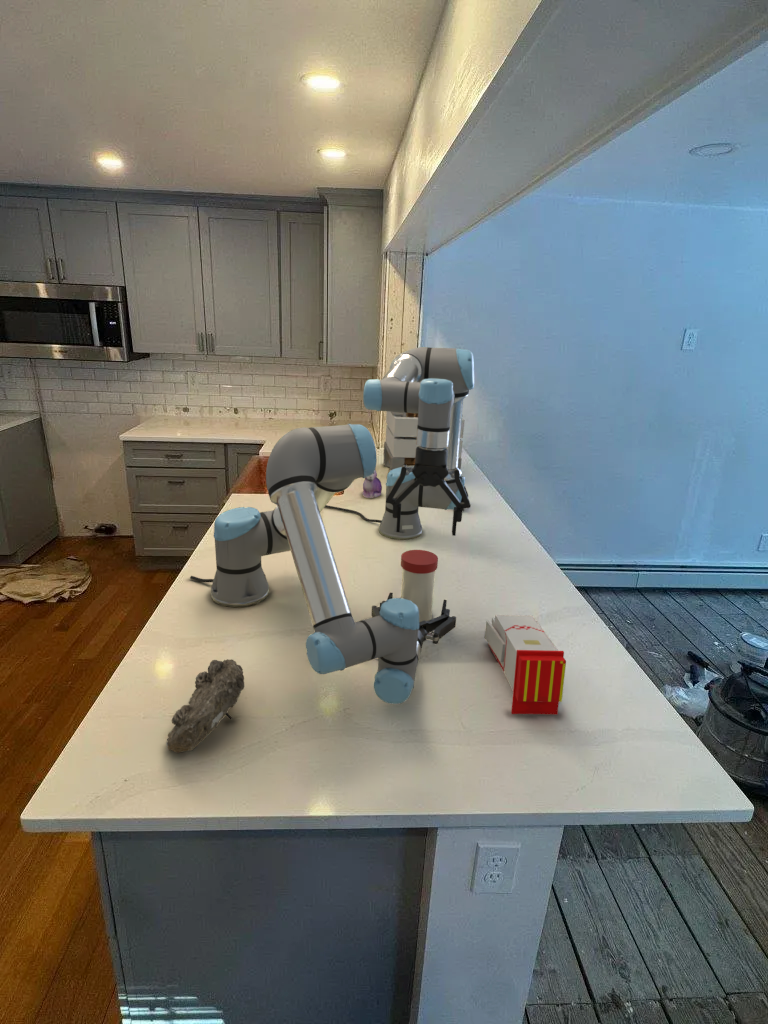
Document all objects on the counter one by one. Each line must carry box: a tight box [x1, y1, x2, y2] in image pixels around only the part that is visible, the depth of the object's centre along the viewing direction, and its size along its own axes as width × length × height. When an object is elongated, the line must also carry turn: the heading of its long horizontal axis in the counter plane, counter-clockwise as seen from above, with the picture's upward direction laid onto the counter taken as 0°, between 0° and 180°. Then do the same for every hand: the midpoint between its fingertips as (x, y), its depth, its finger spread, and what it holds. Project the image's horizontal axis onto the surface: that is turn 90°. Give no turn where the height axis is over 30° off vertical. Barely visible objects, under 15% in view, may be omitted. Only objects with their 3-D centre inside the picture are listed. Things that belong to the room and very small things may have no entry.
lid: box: [400, 549, 439, 574], centre depth 141 cm, size 9×9×2 cm
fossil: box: [166, 658, 245, 754], centre depth 106 cm, size 22×10×15 cm
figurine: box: [361, 469, 383, 499], centre depth 237 cm, size 9×10×15 cm
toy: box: [484, 614, 567, 716], centre depth 124 cm, size 12×13×30 cm
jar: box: [400, 567, 436, 622], centre depth 144 cm, size 8×8×17 cm
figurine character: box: [461, 485, 469, 512], centre depth 229 cm, size 7×8×15 cm
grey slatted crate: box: [383, 411, 465, 472], centre depth 268 cm, size 34×33×41 cm
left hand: (417, 600), depth 142 cm, fingers open, 13 cm apart
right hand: (425, 532), depth 139 cm, fingers open, 13 cm apart
